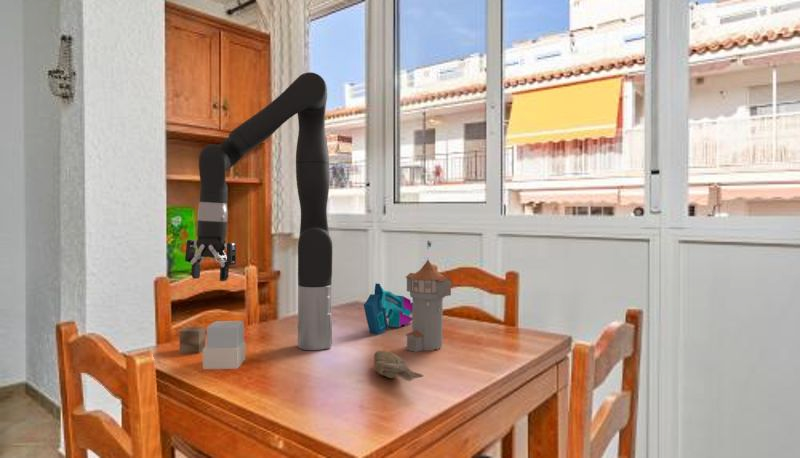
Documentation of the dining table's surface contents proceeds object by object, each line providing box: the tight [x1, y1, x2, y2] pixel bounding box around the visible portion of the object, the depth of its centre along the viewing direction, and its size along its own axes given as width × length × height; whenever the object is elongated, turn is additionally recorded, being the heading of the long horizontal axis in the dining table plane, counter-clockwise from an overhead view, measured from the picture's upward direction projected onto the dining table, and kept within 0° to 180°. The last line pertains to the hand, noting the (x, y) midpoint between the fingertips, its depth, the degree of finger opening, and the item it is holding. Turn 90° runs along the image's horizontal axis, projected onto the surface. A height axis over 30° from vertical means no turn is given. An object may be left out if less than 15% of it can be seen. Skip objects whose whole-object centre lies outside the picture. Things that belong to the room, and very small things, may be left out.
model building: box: [405, 240, 453, 353], centre depth 140 cm, size 14×12×30 cm
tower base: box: [202, 339, 246, 370], centre depth 122 cm, size 8×8×5 cm
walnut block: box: [179, 326, 206, 355], centre depth 134 cm, size 5×5×6 cm
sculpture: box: [373, 350, 425, 382], centre depth 112 cm, size 6×25×5 cm, turn 23°
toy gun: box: [363, 283, 413, 336], centre depth 162 cm, size 4×26×15 cm, turn 148°
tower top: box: [206, 320, 245, 348], centre depth 123 cm, size 7×7×5 cm
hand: (209, 279), depth 135 cm, fingers open, 8 cm apart
